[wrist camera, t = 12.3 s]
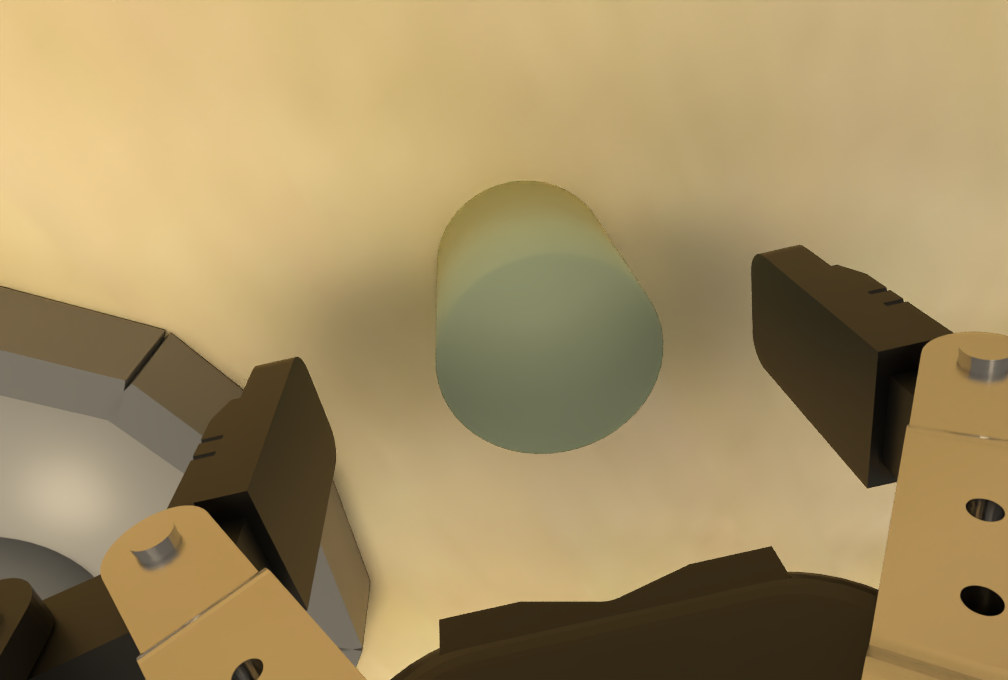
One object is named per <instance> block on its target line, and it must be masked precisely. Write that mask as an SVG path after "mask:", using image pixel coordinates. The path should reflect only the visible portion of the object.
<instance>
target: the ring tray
mask: <svg viewBox="0 0 1008 680" xmlns="http://www.w3.org/2000/svg"><path fill="white" fill-rule="evenodd" d="M164 334H165V330H163V329H159V328H155V327H152V326H148V325H144V324H140V323H136V322H133V321H129V320H125V319H121V318H118V317H114V316H110V315H106V314H102V313H99V312H95V311H91V310H87V309H84V308H80V307H76V306H72V305H68V304H65V303H61V302H57V301H53V300H49V299H46V298H42V297H38V296H34V295H31V294H27V293H23V292H19V291H15V290H12V289H8V288H4V287H0V580H2V579H7V578H19V579H23V580H26V581H27V582H28V583H29V584H30V585H31V586H32V587H33V589H34V590H35V591H36V592H37V594H38V595H39V596H40V598H41V599H42V600H44V599H46V598H49V597H51V596H53V595H55V594H58V593H60V592H62V591H64V590H67V589H69V588H71V587H73V586H76V585H78V584H80V583H83V582H85V581H87V580H89V579H92V578H94V577H96V576H98V575H100V567H101V563H102V560H103V558H104V556H105V554H106V553H107V551H108V550H109V548H110V547H111V546H112V545H113V544H114V542H115V541H116V540H117V539H118V538H119V537H120V536H121V535H122V534H124V533H125V532H126V531H127V530H129V529H130V528H131V527H132V526H134V525H136V524H137V523H139V522H140V521H142V520H144V519H145V518H147V517H149V516H151V515H153V514H155V513H158V512H160V511H163V510H166V509H167V508H168V506H169V504H170V501H171V499H172V497H173V495H174V493H175V491H176V489H177V487H178V485H179V483H180V481H181V479H182V477H183V475H184V473H185V471H186V469H187V467H188V465H189V463H190V461H191V460H193V455H194V453H195V451H196V449H197V447H198V445H199V444H200V443H201V438H202V436H203V434H204V432H205V430H206V428H207V426H208V424H209V422H210V420H211V419H212V418H213V417H214V416H215V415H216V414H217V413H218V412H219V411H220V410H221V409H222V408H223V407H224V406H225V405H226V404H227V403H228V402H229V401H230V400H233V399H237V398H240V397H241V395H242V393H243V390H242V389H241V388H240V387H238V386H237V385H236V384H234V383H233V382H232V381H231V380H229V379H228V378H227V377H226V376H224V375H223V374H222V373H221V372H219V371H218V370H217V369H216V368H214V367H213V366H212V365H211V364H209V363H208V362H207V361H206V360H204V359H203V358H202V357H201V356H199V355H198V354H197V353H195V352H194V351H193V350H192V349H190V348H189V347H188V346H187V345H185V344H184V343H183V342H182V341H180V340H179V339H178V338H177V337H175V336H174V335H173V334H172V333H170V334H169V335H168V336H167V337H166V338H165V339H164ZM369 590H370V580H369V577H368V574H367V571H366V569H365V566H364V563H363V561H362V558H361V555H360V552H359V550H358V547H357V544H356V542H355V539H354V536H353V533H352V531H351V528H350V525H349V523H348V520H347V517H346V515H345V512H344V509H343V506H342V504H341V501H340V498H339V496H338V493H337V490H336V487H335V485H334V482H333V480H332V485H331V490H330V495H329V501H328V506H327V511H326V516H325V522H324V527H323V532H322V537H321V542H320V548H319V553H318V558H317V563H316V569H315V574H314V579H313V584H312V590H311V595H310V600H309V605H308V610H307V611H306V612H307V613H308V614H309V615H310V616H311V618H312V619H313V620H314V621H315V622H316V623H317V624H318V625H319V627H320V628H321V629H322V630H323V631H324V632H325V633H326V634H327V636H328V637H329V638H330V639H331V640H332V641H333V642H334V643H335V645H336V646H337V647H338V648H339V649H340V650H341V651H342V653H343V654H344V655H345V656H346V657H347V658H348V659H349V660H350V662H351V663H352V664H353V665H354V666H355V667H356V666H357V663H358V661H359V658H360V656H361V653H362V650H363V641H364V633H365V624H366V616H367V607H368V599H369Z"/></svg>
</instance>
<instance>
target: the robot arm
mask: <svg viewBox="0 0 1008 680" xmlns="http://www.w3.org/2000/svg"><path fill="white" fill-rule="evenodd" d="M751 281H752V323H753V340H754V345H755V349H756V353H757V355H758V358H759V360H760V362H761V364H762V366H763V367H764V369H765V370H766V371H767V372H768V373H769V374H770V376H771V377H772V378H773V379H774V380H775V381H776V383H777V384H778V385H779V386H780V387H781V388H782V390H783V391H784V392H785V393H786V394H787V395H788V397H789V398H790V399H791V400H792V401H793V402H794V404H795V405H796V406H797V407H798V408H799V409H800V411H801V412H802V413H803V414H804V415H805V416H806V418H807V419H808V420H809V421H810V422H811V423H812V425H813V426H814V427H815V428H816V429H817V430H818V432H819V433H820V434H821V435H822V436H823V437H824V439H825V440H826V441H827V442H828V443H829V444H830V446H831V447H832V448H833V449H834V450H835V451H836V453H837V454H838V455H839V456H840V457H841V458H842V460H843V461H844V462H845V463H846V464H847V465H848V467H849V468H850V469H851V470H852V471H853V472H854V474H855V475H856V476H857V477H858V478H859V479H860V481H861V482H862V483H863V484H864V485H865V486H866V488H871V487H876V486H880V485H885V484H889V483H894V482H897V486H896V492H895V498H894V504H893V509H892V515H891V521H890V527H889V533H888V539H887V545H886V550H885V556H884V562H883V568H882V574H881V580H880V586H879V590H877V589H875V588H872V587H870V586H867V585H864V584H861V583H857V582H854V581H850V580H847V579H843V578H838V577H833V576H828V575H822V574H814V573H804V572H787V571H786V569H785V567H784V566H783V564H782V563H781V561H780V559H779V558H778V556H777V554H776V553H775V551H774V549H773V548H772V546H771V547H766V548H761V549H757V550H752V551H748V552H743V553H739V554H734V555H730V556H725V557H721V558H716V559H712V560H707V561H703V562H698V563H694V564H689V565H687V566H685V567H683V568H681V569H679V570H677V571H675V572H673V573H670V574H668V575H666V576H664V577H662V578H660V579H658V580H656V581H654V582H651V583H649V584H647V585H645V586H643V587H641V588H639V589H637V590H634V591H632V592H630V593H628V594H626V595H624V596H622V597H620V598H617V599H615V600H611V601H605V602H517V603H513V604H508V605H504V606H499V607H495V608H490V609H486V610H481V611H477V612H472V613H467V614H463V615H458V616H454V617H449V618H445V619H440V620H439V630H440V648H439V649H437V650H435V651H433V652H431V653H429V654H427V655H425V656H424V657H422V658H420V659H419V660H417V661H415V662H414V663H412V664H410V665H409V666H408V667H406V668H405V669H404V670H402V671H401V672H400V673H398V674H397V675H396V676H394V677H393V678H392V679H391V680H1008V336H1006V335H1001V334H995V333H987V332H960V333H953V332H951V331H950V330H948V329H947V328H945V327H944V326H942V325H941V324H940V323H938V322H937V321H935V320H934V319H932V318H931V317H929V316H928V315H926V314H925V313H923V312H922V311H920V310H919V309H917V308H916V307H914V306H913V305H912V304H910V303H909V302H903V298H901V297H900V296H898V295H897V294H895V293H894V292H892V291H891V290H889V291H887V289H886V287H885V286H883V285H882V284H881V283H879V282H878V281H876V280H875V279H873V278H872V277H870V276H869V275H867V274H865V273H862V272H859V271H855V270H852V269H849V268H846V267H842V266H839V265H834V266H830V265H829V264H828V263H826V262H825V261H823V260H822V259H821V258H819V257H818V256H816V255H815V254H814V253H812V252H811V251H810V250H808V249H807V248H805V247H804V246H802V245H797V246H792V247H788V248H783V249H779V250H774V251H770V252H765V253H761V254H757V255H755V257H754V258H753V261H752V267H751ZM335 464H336V448H335V441H334V437H333V433H332V430H331V427H330V424H329V422H328V419H327V417H326V414H325V412H324V409H323V407H322V404H321V402H320V399H319V397H318V394H317V392H316V389H315V387H314V384H313V382H312V379H311V377H310V374H309V372H308V370H307V367H306V365H305V364H304V362H303V361H302V359H301V358H299V357H294V358H290V359H285V360H281V361H277V362H272V363H268V364H263V365H259V366H255V367H254V369H253V370H252V373H251V375H250V377H249V379H248V382H247V384H246V386H245V388H244V391H243V393H242V395H241V397H240V398H237V399H233V400H230V401H229V402H228V403H227V404H226V405H225V406H224V407H223V408H222V409H221V410H220V411H219V412H218V413H217V414H216V415H215V416H214V417H213V418H212V419H211V420H210V422H209V424H208V426H207V428H206V430H205V432H204V434H203V436H202V438H201V443H200V444H199V445H198V447H197V449H196V451H195V453H194V455H193V460H191V461H190V463H189V465H188V467H187V469H186V471H185V473H184V475H183V477H182V479H181V481H180V483H179V485H178V487H177V489H176V491H175V493H174V495H173V497H172V499H171V501H170V504H169V506H168V508H167V509H166V510H163V511H160V512H158V513H155V514H153V515H151V516H149V517H147V518H145V519H144V520H142V521H140V522H139V523H137V524H136V525H134V526H132V527H131V528H130V529H129V530H127V531H126V532H125V533H124V534H122V535H121V536H120V537H119V538H118V539H117V540H116V541H115V542H114V544H113V545H112V546H111V547H110V548H109V550H108V551H107V553H106V554H105V556H104V558H103V560H102V563H101V567H100V575H98V576H96V577H94V578H92V579H89V580H87V581H85V582H83V583H80V584H78V585H76V586H73V587H71V588H69V589H67V590H64V591H62V592H60V593H58V594H55V595H53V596H51V597H49V598H46V599H44V600H42V599H41V598H40V596H39V595H38V594H37V592H36V591H35V590H34V589H33V587H32V586H31V585H30V584H29V583H28V582H27V581H26V580H23V579H19V578H7V579H2V580H0V680H366V678H365V677H364V676H363V675H362V674H361V673H360V672H359V671H358V669H357V668H356V667H355V666H354V665H353V664H352V663H351V662H350V660H349V659H348V658H347V657H346V656H345V655H344V654H343V653H342V651H341V650H340V649H339V648H338V647H337V646H336V645H335V643H334V642H333V641H332V640H331V639H330V638H329V637H328V636H327V634H326V633H325V632H324V631H323V630H322V629H321V628H320V627H319V625H318V624H317V623H316V622H315V621H314V620H313V619H312V618H311V616H310V615H309V614H308V613H307V612H306V611H307V610H308V605H309V600H310V595H311V590H312V584H313V579H314V574H315V569H316V563H317V558H318V553H319V548H320V542H321V537H322V532H323V527H324V522H325V516H326V511H327V506H328V501H329V495H330V490H331V485H332V480H333V474H334V469H335Z"/></svg>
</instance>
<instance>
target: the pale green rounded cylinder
mask: <svg viewBox="0 0 1008 680" xmlns="http://www.w3.org/2000/svg"><path fill="white" fill-rule="evenodd" d="M662 356H663V336H662V329H661V325H660V322H659V318H658V315H657V313H656V311H655V309H654V307H653V304H652V303H651V301H650V299H649V298H648V296H647V295H646V293H645V292H644V290H643V289H642V287H641V286H640V284H639V283H638V281H637V280H636V278H635V277H634V275H633V274H632V272H631V270H630V269H629V267H628V266H627V264H626V263H625V261H624V260H623V258H622V257H621V255H620V254H619V252H618V251H617V249H616V248H615V246H614V245H613V243H612V242H611V240H610V238H609V237H608V235H607V234H606V232H605V231H604V229H603V228H602V226H601V225H600V223H599V222H598V220H597V219H596V217H595V216H594V214H593V213H592V211H591V210H590V209H589V208H588V207H587V206H586V205H585V204H584V203H583V202H582V201H581V200H580V199H578V198H577V197H576V196H574V195H573V194H571V193H570V192H568V191H566V190H564V189H562V188H559V187H557V186H554V185H551V184H547V183H543V182H536V181H516V182H509V183H505V184H501V185H497V186H495V187H492V188H490V189H487V190H485V191H483V192H482V193H480V194H478V195H476V196H475V197H474V198H472V199H471V200H470V201H468V202H467V203H466V204H465V205H464V206H463V207H462V208H461V209H460V210H459V211H458V212H457V213H456V214H455V216H454V217H453V218H452V219H451V221H450V223H449V224H448V226H447V228H446V230H445V232H444V234H443V237H442V239H441V243H440V246H439V250H438V258H437V306H436V373H437V378H438V383H439V386H440V389H441V392H442V395H443V397H444V399H445V401H446V403H447V405H448V407H449V408H450V409H451V411H452V412H453V414H454V415H455V416H456V418H457V419H458V420H459V421H460V422H461V423H462V424H463V425H464V426H465V427H466V428H468V429H469V430H470V431H471V432H473V433H474V434H475V435H477V436H479V437H480V438H482V439H484V440H485V441H487V442H490V443H492V444H494V445H496V446H499V447H502V448H505V449H508V450H512V451H517V452H523V453H533V454H549V453H558V452H565V451H569V450H573V449H578V448H581V447H583V446H586V445H589V444H592V443H594V442H596V441H598V440H600V439H602V438H604V437H606V436H607V435H609V434H611V433H612V432H614V431H615V430H617V429H618V428H619V427H621V426H622V425H623V424H625V423H626V422H627V421H628V420H629V419H630V418H631V417H632V416H633V415H634V414H635V413H636V412H637V411H638V410H639V408H640V407H641V406H642V405H643V403H644V402H645V401H646V399H647V397H648V396H649V394H650V393H651V391H652V389H653V387H654V384H655V382H656V380H657V377H658V374H659V371H660V368H661V363H662Z"/></svg>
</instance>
